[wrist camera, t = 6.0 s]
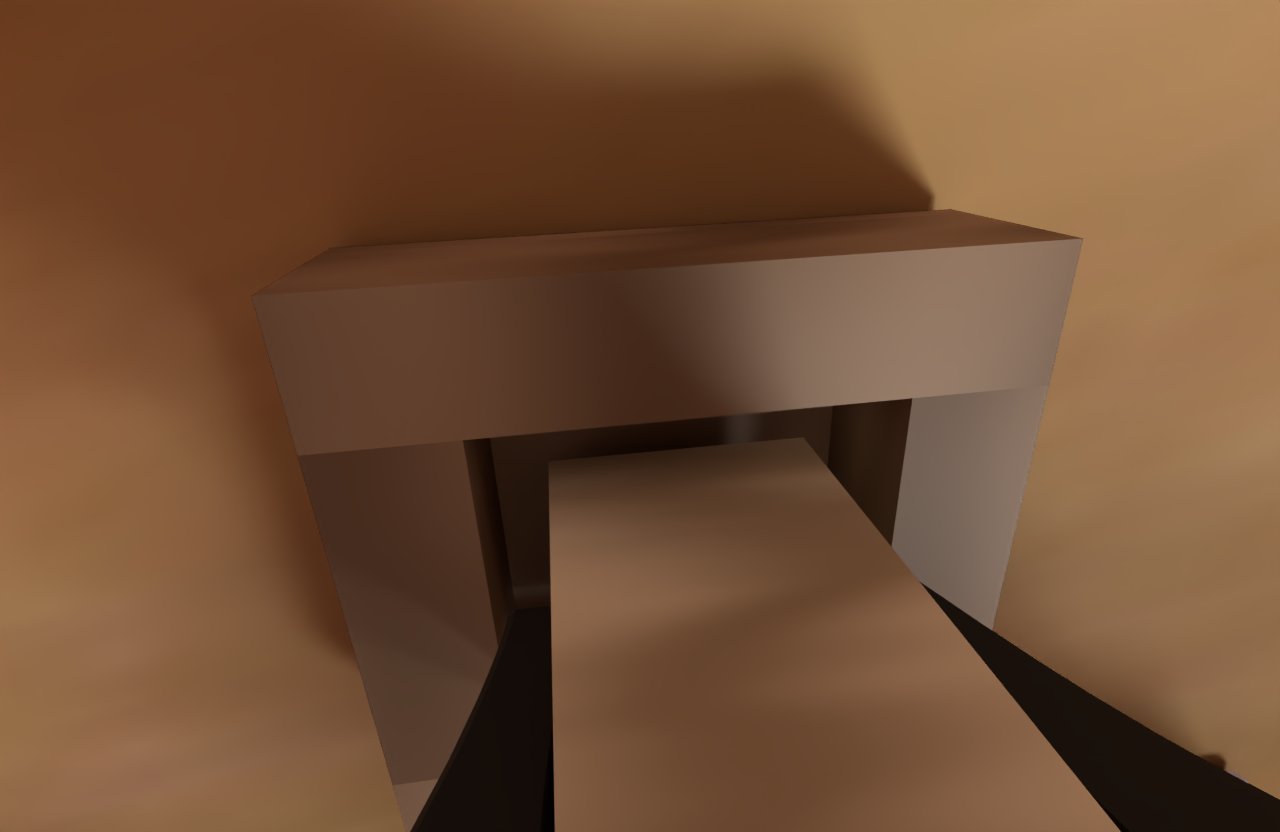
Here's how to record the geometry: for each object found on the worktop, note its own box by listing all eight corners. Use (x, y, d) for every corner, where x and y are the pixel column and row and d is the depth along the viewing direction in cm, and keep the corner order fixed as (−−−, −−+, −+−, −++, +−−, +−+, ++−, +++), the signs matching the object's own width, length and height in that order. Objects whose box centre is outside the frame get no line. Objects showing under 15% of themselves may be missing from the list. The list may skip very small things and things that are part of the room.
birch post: (802, 437, 10) (1203, 934, 4) (787, 631, 12) (1055, 1196, 6) (548, 460, 10) (559, 1054, 4) (569, 659, 12) (601, 1301, 5)
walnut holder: (950, 209, 11) (1084, 238, 8) (883, 660, 15) (957, 778, 12) (330, 248, 10) (251, 295, 7) (440, 720, 14) (415, 863, 11)
